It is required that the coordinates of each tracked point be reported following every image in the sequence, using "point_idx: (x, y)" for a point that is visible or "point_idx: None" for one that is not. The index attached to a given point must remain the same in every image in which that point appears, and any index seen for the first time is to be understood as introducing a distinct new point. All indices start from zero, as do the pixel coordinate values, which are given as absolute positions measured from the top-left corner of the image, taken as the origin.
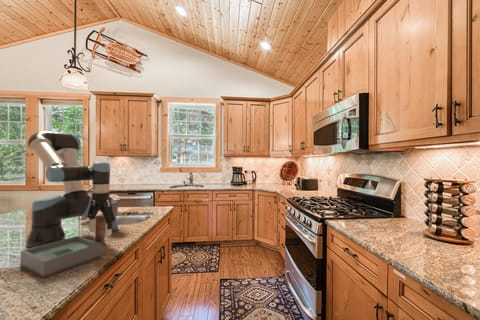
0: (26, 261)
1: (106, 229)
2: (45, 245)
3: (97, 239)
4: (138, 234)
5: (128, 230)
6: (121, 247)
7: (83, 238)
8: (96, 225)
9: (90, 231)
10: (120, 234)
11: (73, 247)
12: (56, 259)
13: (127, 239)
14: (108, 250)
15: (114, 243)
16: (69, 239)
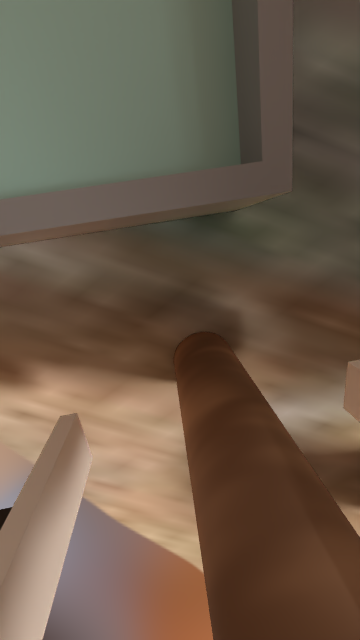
0: None
1: (21, 493)
2: None
3: (190, 358)
4: (177, 546)
5: None
6: (4, 422)
7: (104, 207)
8: (251, 464)
9: (355, 367)
10: None
11: (3, 52)
12: None
13: (138, 487)
14: (3, 350)
15: (125, 419)
16: (256, 63)
